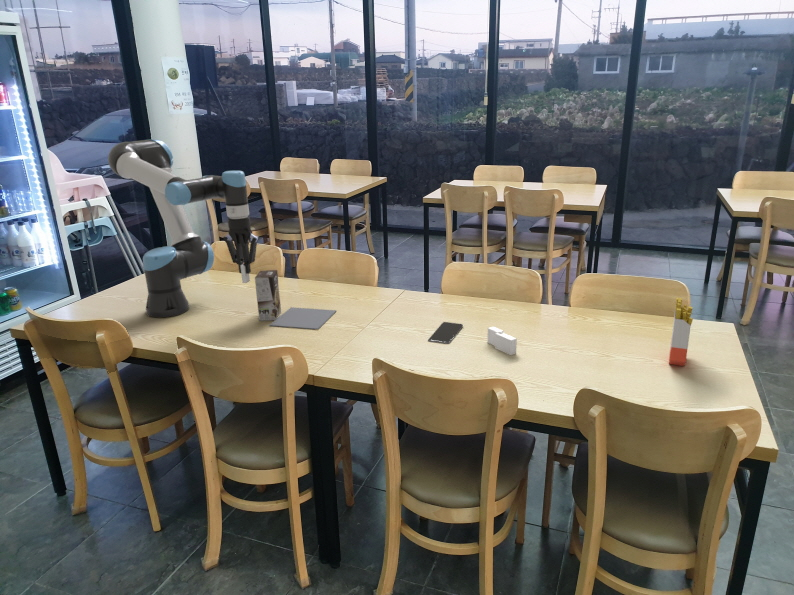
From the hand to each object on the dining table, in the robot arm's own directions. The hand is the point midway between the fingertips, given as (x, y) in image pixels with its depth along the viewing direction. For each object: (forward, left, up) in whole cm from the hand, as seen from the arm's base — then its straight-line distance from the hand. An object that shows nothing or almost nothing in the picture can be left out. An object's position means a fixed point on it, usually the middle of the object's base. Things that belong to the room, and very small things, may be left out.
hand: (246, 281), depth 218 cm
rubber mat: (+21, 0, -13) cm, 25 cm away
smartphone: (+73, -4, -13) cm, 74 cm away
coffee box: (+8, 0, -13) cm, 15 cm away
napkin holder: (+92, -11, -13) cm, 94 cm away
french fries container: (+142, -12, -13) cm, 143 cm away
